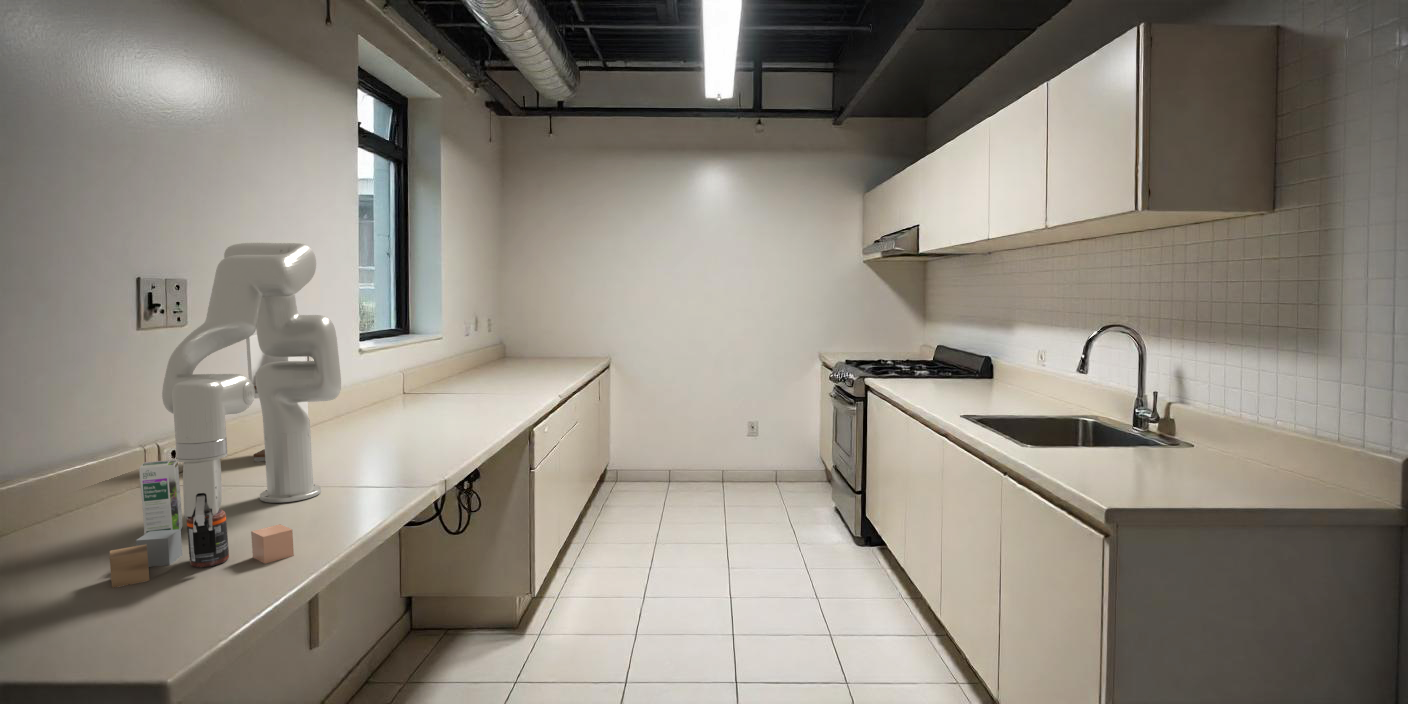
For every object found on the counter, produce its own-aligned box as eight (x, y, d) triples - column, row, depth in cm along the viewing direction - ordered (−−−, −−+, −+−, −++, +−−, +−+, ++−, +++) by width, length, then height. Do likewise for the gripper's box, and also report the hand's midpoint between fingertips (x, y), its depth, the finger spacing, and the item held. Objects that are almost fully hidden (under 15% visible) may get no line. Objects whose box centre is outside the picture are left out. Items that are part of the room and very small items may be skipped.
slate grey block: (151, 557, 139) (149, 531, 139) (182, 555, 140) (180, 529, 140) (137, 567, 134) (135, 540, 134) (169, 565, 135) (167, 538, 135)
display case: (272, 452, 223) (265, 333, 220) (310, 451, 225) (303, 333, 221) (253, 461, 212) (245, 336, 209) (293, 460, 213) (286, 336, 210)
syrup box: (143, 540, 148) (138, 467, 147) (149, 531, 153) (143, 460, 152) (179, 535, 151) (173, 463, 149) (183, 526, 156) (178, 457, 155)
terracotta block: (252, 557, 139) (251, 531, 138) (281, 550, 143) (280, 524, 142) (264, 564, 136) (263, 536, 135) (293, 556, 140) (292, 529, 139)
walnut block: (112, 579, 129) (109, 550, 129) (148, 572, 132) (146, 544, 132) (112, 588, 125) (109, 559, 125) (149, 581, 128) (147, 552, 128)
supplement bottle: (201, 556, 139) (197, 496, 138) (236, 555, 140) (232, 495, 138) (182, 569, 133) (177, 506, 132) (218, 568, 134) (213, 505, 133)
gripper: (183, 442, 140) (190, 534, 142) (168, 462, 125) (175, 564, 127) (231, 438, 144) (237, 528, 145) (221, 457, 128) (228, 557, 130)
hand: (208, 544), depth 136 cm, fingers open, 8 cm apart
